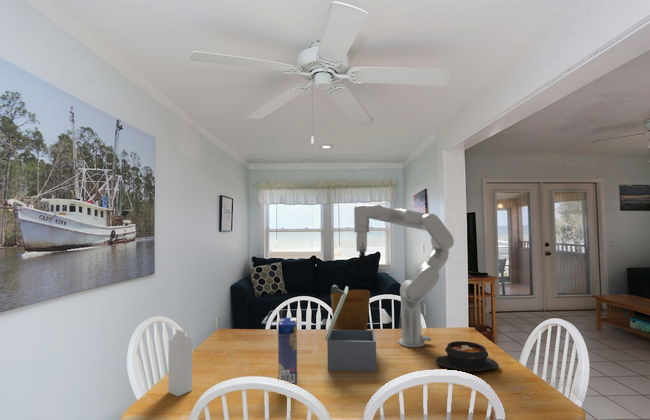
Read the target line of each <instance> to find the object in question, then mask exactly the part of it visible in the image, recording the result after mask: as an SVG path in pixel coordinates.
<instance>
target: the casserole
mask: <svg viewBox="0 0 650 420" xmlns="http://www.w3.org/2000/svg"><path fill="white" fill-rule="evenodd" d="M444 351H445V352H446V355H441V356H440V355H439V356H437V357H436V358H435V362H436V363H437V364H438V365H440V366H441V367H443V368H447V369H454V370H459V371H462V372H470V373H473V372H476V373H477V372H482V371H486V370H494V369H497V368H499V367H500V366H499V363H498V361H496V360H495V359H493V358H492V357H491V358H490V357H488V356H489V353H488V351H487V349H486V348H485V346H483V345H482V344H478V343H476V342H471V341H463V340H461V341H459V340H457V341H451V342H449V343H448V344H447V345H446V348H445V349H444Z"/></svg>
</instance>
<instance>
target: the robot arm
mask: <svg viewBox="0 0 650 420" xmlns="http://www.w3.org/2000/svg"><path fill="white" fill-rule="evenodd" d="M353 215H354V216H353V217H354V218H353V219H354V223H353V224H354V233H356V242H355V243H356V253H359V254H358V265H366V262H367V261H366V252H367V249H368V233H370V220H374V221H380V222H381V221H382V222H386V223H389V224H394V225H397V226H401V227H407V228H411V229H417V230H421V231H426V232H427V233H428V234H429V235H430V237H431V238H430V243H431V245H432V247H431V251H430V253H429V255H428V256H427V257H426V259H425V260H424V261H423V262H422V263H421V264H420V265H419V266H418V267H417V268H416V270H415V278H413V279H406V280H404V281H403V282H402V283H401V284H400V288H399V294H400V295H399V296H400V305H401V306H400V311H401V313H400V315H401V316H400V317H401V321H400V322H401V338H399V339H398V344H399V345H400V346H402V347H407V348H421V347H424V345H425V341H426V342H431V341H432V337H431V336H428V335H422V315H421V314H422V310H421V309H422V308H421V302H422V301H423V300H424V299H425V298H426V297H427V296H428V294H429V293H430V292H432V290H433V289H434V288H435V287H436V286H437V284H438V283H439V280H440V273H439V272H440V271H441V269H442V268H443V267H444V265H446V263H447V261H448V259H449V255H450V254H449V253H450V251H449V250H450V249H451V248H453V246H454V243H455V240H454V237H453V235H452V234H451V232H450V231H449V229H448V228H447V227H446V225H445V224H444V223H443V221H442V220H441V219H440V218H439V216H437V215H436V214H434V213H424V212H420V211H415V210H411V209H406V208H405V209H404V208H391V207H385V206H383V205H380V204H372V205H371V204H370V205H366V204H365V205H364V204H361V205H360V204H358V205H355V206H354V209H353Z"/></svg>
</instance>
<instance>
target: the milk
mask: <svg viewBox="0 0 650 420" xmlns="http://www.w3.org/2000/svg"><path fill="white" fill-rule="evenodd" d="M167 359H168V362H167V363H168V366H167V367H168V368H167V369H168V371H167V373H168V374H167V376H168V377H167V379H168V380H167V381H168V387H167V389H168V393H169V394H172V395H174V396H175V397H177V398H178V397H179V396H182V395H184V394H187V393H189V392H191V391H193V338H192V337H189V336H186V332H185V331H184V330H180V329H175V334H173V335H172V336H171V337H170V338H169V339H168V358H167Z"/></svg>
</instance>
